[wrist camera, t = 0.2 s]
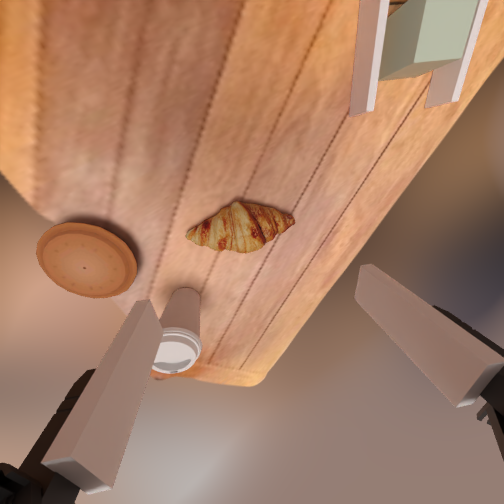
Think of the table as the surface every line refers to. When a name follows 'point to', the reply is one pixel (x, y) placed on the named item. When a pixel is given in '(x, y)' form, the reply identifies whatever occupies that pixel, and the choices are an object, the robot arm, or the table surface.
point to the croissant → (241, 228)
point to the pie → (86, 260)
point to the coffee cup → (179, 332)
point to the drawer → (397, 2)
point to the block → (425, 37)
